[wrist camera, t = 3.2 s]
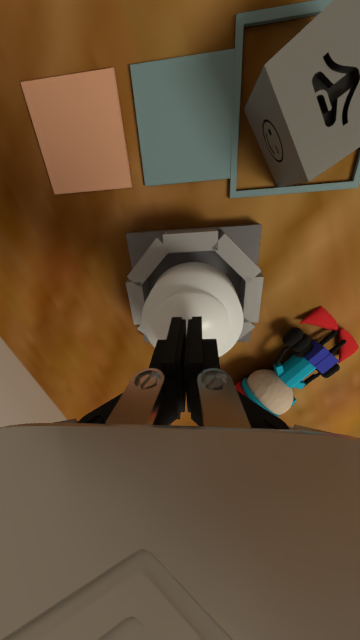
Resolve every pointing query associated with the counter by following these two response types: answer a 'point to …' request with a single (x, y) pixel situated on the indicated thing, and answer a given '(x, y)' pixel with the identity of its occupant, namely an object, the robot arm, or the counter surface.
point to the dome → (194, 304)
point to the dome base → (198, 246)
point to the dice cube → (310, 97)
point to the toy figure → (297, 364)
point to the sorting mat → (155, 119)
